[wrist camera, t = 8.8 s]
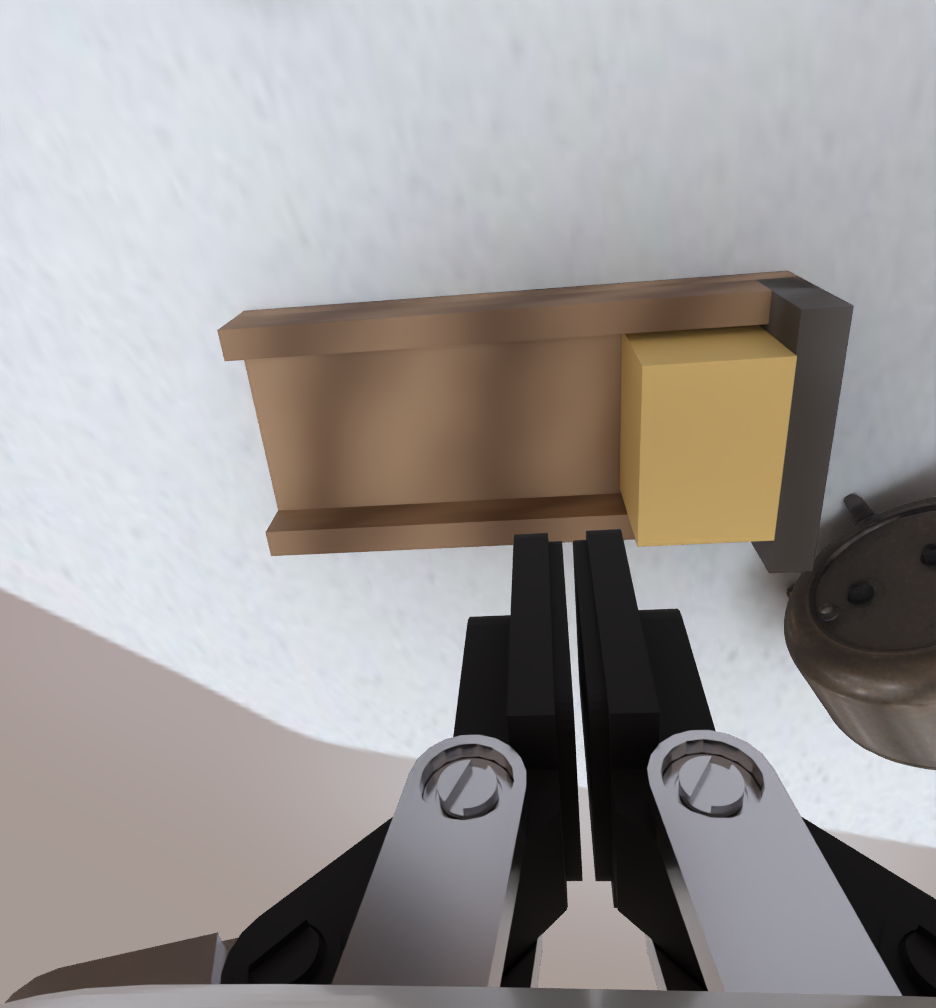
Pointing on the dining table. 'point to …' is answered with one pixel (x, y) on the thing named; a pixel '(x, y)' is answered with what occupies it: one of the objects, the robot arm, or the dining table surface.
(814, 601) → the alarm clock
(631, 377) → the block
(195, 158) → the dining table surface
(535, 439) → the wooden tray
